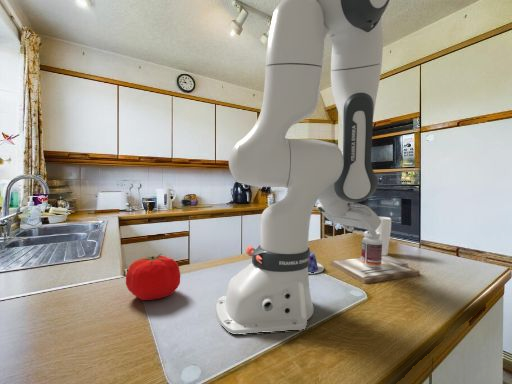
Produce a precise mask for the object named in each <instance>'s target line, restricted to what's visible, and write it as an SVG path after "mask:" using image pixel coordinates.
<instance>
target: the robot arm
mask: <svg viewBox="0 0 512 384" xmlns="http://www.w3.org/2000/svg"><path fill="white" fill-rule="evenodd" d="M389 3H390V0H281V1H280V2H279V3H278V5H276V7H275V9H274V11H273V13H272V17H271V22H270V25H269V26H270V27H269V30H268V31H269V32H268V39H267V46H266V55H265V70H264V71H265V72H264V73H265V74H264V75H265V76H264V87H263V88H264V89H263V98H262V105H261V110H260V113H259V115H258V117H257V119H256V122H255V123H254V125H253V127H252V128H251V129H250V130H249V132H247V134H246V135H245V136H244V137H242V138H241V139H240V140H238V141H237V142H236V143H235V144H234V145H233V147H232V149H231V150H230V153H229V156H228V168H229V171H230V173H231V176H232V177H233V179H234V180H235V181H236V182H237V183H239V184H242V185H246V186H252V187H256V188H260V187H261V188H262V187H263V188H286V189H287V191H286V194H285V196H284V197H283V198H282V199H281V200H278V201H277V202H275V203H272V204H270V205H268V207H266V208H265V209H263V211H262V213H261V215H260V229H259V230H260V232H259V234H260V237H259V239H260V240H259V241H260V243H259V245H258V247H256V248H254V246H252V245H249V246H247V247H246V248H245V253H246V254H247V255H248V256H249V257H251V262H250V263H249V264H247V266H246V267H244V268H243V269H242V270H240V271H239V272H238V273H237V274H235V275H234V276H233V277H232V278H231V279H230V280H229V282H228V284H227V289H226V295H222V296H220V297H219V298H218V299H217V301H216V306H215V313H217V314H216V317H218V318H217V320H218V319H219V320H218V322H219V321H220V322H219V324H220V323H221V324H222V326H223V327H224V328H225V329H227V330H228V331H230V332H232V333H236V334H238V333H250V332H251V333H252V332H262V331H281V330H282V331H283V330H284V331H285V330H299V331H303V330H302V329H304V330H306V329H307V327H306V326H308V321H309V319H310V318H311V317H312V316H313V314H314V308H315V307H314V305H313V304H314V303H313V300H312V295H311V291H310V290H311V289H310V279H309V272H308V270H309V266H310V252H311V249H310V247H309V237H310V236H309V235H310V226H311V219H312V218H311V216H312V212H313V210H314V208H315V205H316V203H317V202H318V201H319V203H318V204H317V206H316V210H318V211H319V212H321V214H322V215H323V216H324V217H325V218H326V219H327V220H328V221H329V222H330V223H334V224H338V225H340V226H342V227H343V228H344V229H345V230H346V231H348V232H353V230H354V228H359V229H364V230H365V231H368V232H367V233H368V234H369V236H372V237H375V235H376V234H377V233H376V230H377V228H378V227H379V226H380V224H381V220H380V218H379V217H380V216H379V217H378V215H377V213H376V212H375V211H374V210H372V208H371V207H369V206H368V205H366V204H365V205H364V204H361V203H359V202H363V201H365V200H367V199H369V198H370V197H372V196H373V195H374V194H375V192H376V191H377V188H378V179H377V176H376V174H375V172H374V169H373V167H372V146H373V130H374V129H373V127H374V125H373V124H374V123H373V122H374V113H375V108H376V102H377V97H378V96H377V95H378V91H379V87H380V86H379V85H380V79H381V73H382V66H383V65H382V63H383V51H384V50H383V49H384V48H383V47H384V46H383V45H384V44H383V43H384V42H383V37H384V36H383V34H384V33H383V23H382V16H383V15H384V12H385V11H386V9H387V7H388V5H389ZM327 35H329V37H330V40H331V42H332V43H331V44H332V45H331V46H332V47H331V57H330V87H331V93H332V98H333V102H334V104H335V107H336V110H337V112H338V114H339V118H340V123H341V129H342V151H341V149H340V148H339V146H338V145H337V144H336V143H333V142H330V141H329V142H328V141H325V140H322V139H321V140H320V139H315V138H314V139H313V138H312V139H311V138H309V139H308V138H287V136H286V135H287V132H288V131H290V128H292V126H294V125H296V124H298V123H301V122H302V121H305V120H307V119H308V118H310V117H311V116H312V115H313V114H314V113H315V112H316V109H317V107H318V105H319V97H320V90H321V88H320V87H321V80H322V74H323V72H322V71H323V63H324V53H325V38H326V36H327ZM307 320H308V321H307ZM221 324H220V325H221ZM222 326H221V327H222ZM223 327H222V328H223ZM224 328H223V329H224ZM305 328H306V329H305ZM225 329H224V330H225ZM285 332H286V331H285Z"/></svg>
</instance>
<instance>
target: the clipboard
mask: <svg viewBox="0 0 512 384" xmlns="http://www.w3.org/2000/svg"><path fill="white" fill-rule="evenodd" d="M329 264H330V266H331V265H332V266H333V267H334V268H336V269H338V270H339V271H341V272H343V273H345V274H347V275H349V276H350V277H352V278H354V279H355V280H358V281H359V282H361V283H363V284H371V283H372V284H373V283H376V282H385V281H389V280H396V279H401V278H409V277H415V276H420V272H421V271H419V270H418V269H414V268H413V267H410V266H409V263H408V262H405V261H403V260H401V259H398V258H395V257H393V256H390V255H386V256H382V260H381V266H380V267H377V268H375V267H368V266H365V265H363V264H362V263H361V257H354V258H346V259H336V260H330V263H329Z"/></svg>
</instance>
